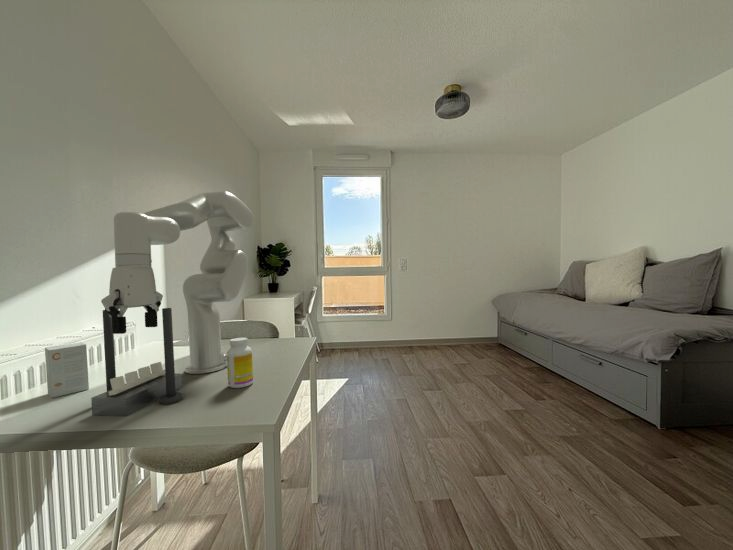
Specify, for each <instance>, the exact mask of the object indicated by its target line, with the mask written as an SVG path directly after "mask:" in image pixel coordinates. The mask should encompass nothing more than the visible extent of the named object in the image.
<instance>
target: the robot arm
mask: <svg viewBox="0 0 733 550" xmlns="http://www.w3.org/2000/svg"><path fill="white" fill-rule="evenodd" d="M254 217H255V216H254V214H253V212H252V210H251V208H249V207H248V206H247V205H246V204H245V203H244V201H242V200H241V199H239V198H238V197H237V196H236V195H235V194H233V193H231V192H229V191H226V190H225V191H210V192H208V191H207V192H202V193H199V194H196V195H194V196H192V197H189V198H187V199H185V200H182V201H179V202H177V203H173V204H169V205H167V206H166V205H165V206H163V207H160V208H155V209H152V210H149V211H145V212H143V213H140V212H135V211H122V212H117V213H116V214H115V215H113V238H114V239H113V240H114V263H115V264H114V266H115V267H112V270H111V273H110V279H109V291H108V293H109V294H108V295H107V296H104V297H103V298H102V299H101V301H100V302H101V304H102V306H103V308H104V310H105V311H106V312H107V313H108V314H109V317H112V332H113V334H114V335H122V334H126V333H127V317H126V316H124V315H125V314H126V312H127V310H128V309H129V308H130V309H132V308H140V307H141V308H142V307H143V308H144V310H145V312H144V327H146V328H157V327H158V325H159V324H158V312H159V311H160V306H161V305H162V300H163V298H164V295H163V294H162V293H160V292H159V291H157V286H156V279H155V278H156V277H155V273H154V269H153V267H152V262H153V259H152V247H151V246H158V245H159V246H161V245H170V244H173V243H175V242H176V241H178V240H179V238H180V235H181V232H182V231H187V230H191V229H194V228H196V227H198V226H200V225H201V224H203V223H205V222H206V223H207V226H208V227H207V228H208V230H209V234H210V237H211V240H210V243H209V245H208V247H207V249H206V251H205V253H204V255H203V257H202V259H201V260H200V265H199V268H200V269H199V270H200V272H201V273H196V274H191V275H190V276H188V277H187V278H186V279H185V280H184V282H183V284H182V293H183V297H184V300H185V303H186V310H187V323H188V325H187V326H188V344H189V345H188V346H189V360H190V361H189V365H187V366H185V368H184V372H185V373H186V374H192V375H199V374H200V375H201V374H202V375H203V374H209V373H212V372H213V373H214V372H216V371H217V372H218V371H221V370H223V369H225V368H226V367H227V353H224V352H223V351H222V336H221V334H222V333H221V317H220V316H221V315H220V312H219V309H218V307H217V306H216V304H215V303H224V302H225V303H227V302H232V301H234V300H235V299H236V298H238V295H239V294H240V291H241V288H242V286H243V284H244V282H245V281H244V280H245V278H246V276H247V274H248V271H249V259H248V256H247V254H246V253H245V252H244V251H243V250H240V249H236V244H235V243H236V242H235V241H234V239H233V238H232V237H231V236H230V235H229V233H228V232H231V231H245V230H249V229H251V228H252V227H253V226H254V222H255V221H254V220H255V219H254Z"/></svg>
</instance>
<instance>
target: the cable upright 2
mask: <svg viewBox="0 0 733 550" xmlns="http://www.w3.org/2000/svg"><path fill="white" fill-rule="evenodd" d="M172 311H173V310H172V307H164V308H161V313H162V333H163V334H162V335H163V351H164V352H163V353H164V370H165V376H166V395H163V396H161V397H160V399H159V404H160V405H163V406H165V405H167V406H168V405H173V404H177V403H179V402H182V401H183V399H184V398H183V392H180V391H176V389H175V374H176V373H175V372H176V371H175V354H174V353H175V351H174V336H173V335H174V334H173V333H174V332H173V330H174V329H173V316H172V314H173V313H172Z"/></svg>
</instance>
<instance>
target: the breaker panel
mask: <svg viewBox="0 0 733 550" xmlns="http://www.w3.org/2000/svg"><path fill="white" fill-rule="evenodd" d="M138 378H139V379H140V377H138ZM126 384H127V383H125V385H126ZM182 388H183V383H182V373H175V389H176V392H178V390H180V389H182ZM109 391H111V390H109ZM109 391H107V390H106V391H104V392H102V393H100V394H99V393H98V394H97V395H95V396H93V397H91V398H90V399H91V400H90V401H91V413H92V414H91V415H92V416H108V415H116V416H115V417H128V416H129V415H132V414H133V413H136V412H137V411H139V410H142V409H143V408H145V407H147V406H149V405H151V404H154V403H155V402H157V401H160V397H161V396H163V395H166V376H165V374H163V375H160V376H158V377H156V378H153V379H151V380H148V381H146V382H144V383H141V384H139V385H137V386H134V387H132V388H129V389H127V390H125V391H122V392H120V393H118V394H115V395H111V396H109Z"/></svg>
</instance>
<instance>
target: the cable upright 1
mask: <svg viewBox="0 0 733 550" xmlns="http://www.w3.org/2000/svg"><path fill="white" fill-rule="evenodd" d="M102 326H103V327H102V328H103V346H104V363H105V364H104V365H105V381H106V382H105V384H106V392H107V391H109V390H112V386H111V382H110V379H112V378H115V377H117V373H116V354H115V337H114V335H115V334H113V332H112V317H109V314H108V313H107V312H106V311H105V309H103V310H102Z"/></svg>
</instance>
